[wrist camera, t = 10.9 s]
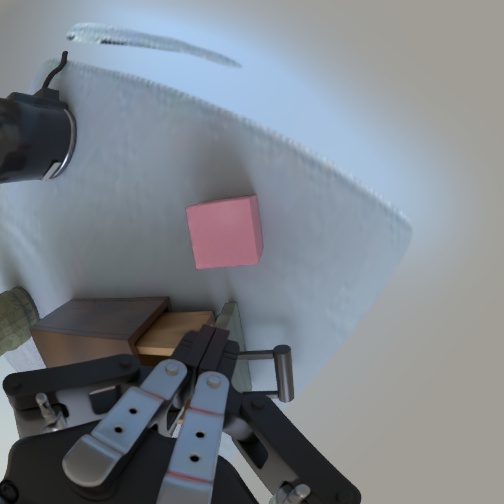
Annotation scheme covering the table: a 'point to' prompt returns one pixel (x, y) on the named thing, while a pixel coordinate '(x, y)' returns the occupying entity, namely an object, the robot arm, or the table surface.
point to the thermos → (16, 318)
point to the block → (225, 232)
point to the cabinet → (95, 329)
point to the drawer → (178, 323)
